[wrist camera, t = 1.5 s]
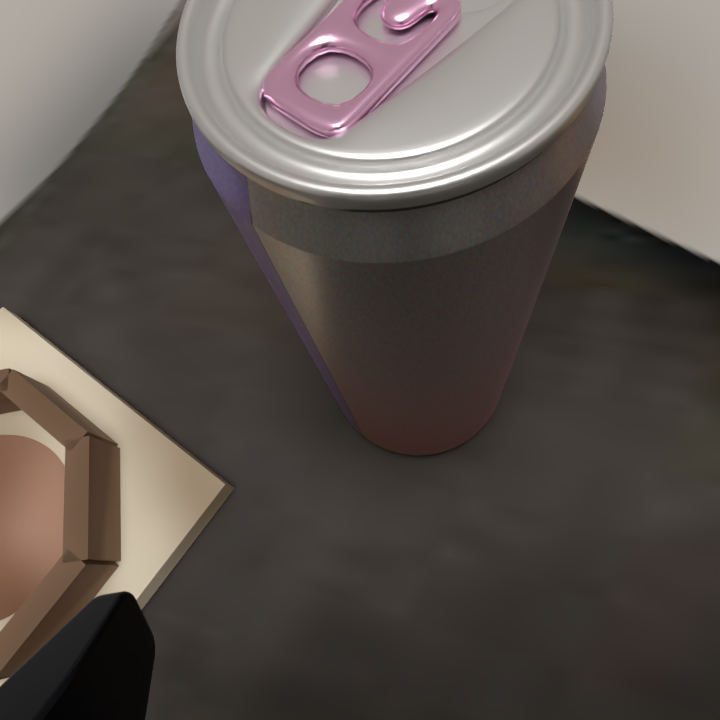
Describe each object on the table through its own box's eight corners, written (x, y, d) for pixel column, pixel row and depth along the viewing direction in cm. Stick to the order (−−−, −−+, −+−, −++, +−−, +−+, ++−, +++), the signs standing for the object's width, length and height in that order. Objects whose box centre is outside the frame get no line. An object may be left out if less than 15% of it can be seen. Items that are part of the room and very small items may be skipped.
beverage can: (303, 389, 22) (70, 61, 8) (406, 274, 23) (360, -192, 9) (431, 495, 20) (421, 312, 6) (535, 364, 21) (731, -47, 7)
